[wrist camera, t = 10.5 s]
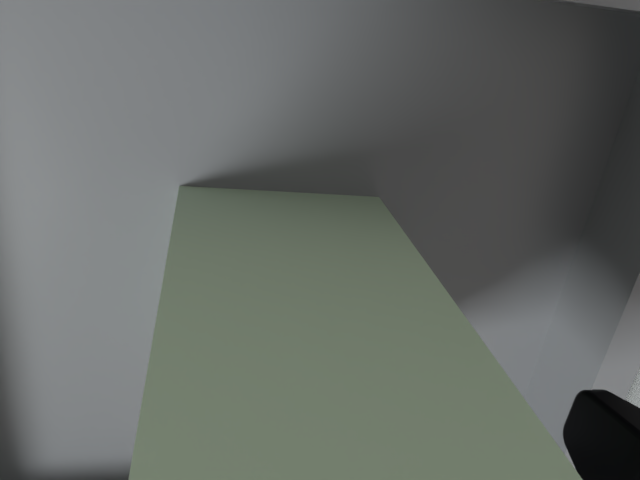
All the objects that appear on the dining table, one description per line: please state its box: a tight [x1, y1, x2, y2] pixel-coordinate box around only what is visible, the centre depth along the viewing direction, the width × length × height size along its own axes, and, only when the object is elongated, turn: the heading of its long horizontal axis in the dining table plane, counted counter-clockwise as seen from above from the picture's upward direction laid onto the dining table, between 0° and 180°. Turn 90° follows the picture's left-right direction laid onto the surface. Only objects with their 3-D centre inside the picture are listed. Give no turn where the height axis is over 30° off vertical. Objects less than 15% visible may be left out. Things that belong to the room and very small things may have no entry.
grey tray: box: [0, 0, 640, 480], centre depth 11 cm, size 16×14×2 cm
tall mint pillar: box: [128, 186, 583, 480], centre depth 7 cm, size 4×4×10 cm
